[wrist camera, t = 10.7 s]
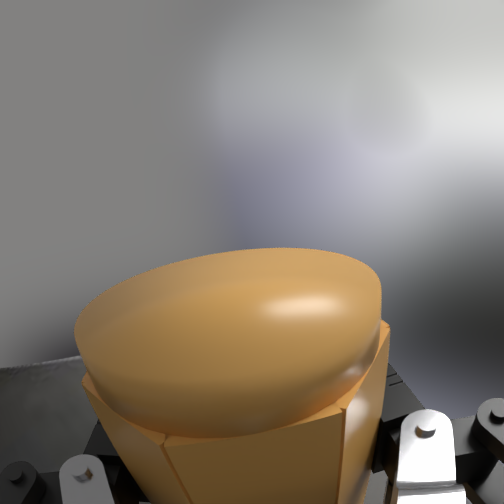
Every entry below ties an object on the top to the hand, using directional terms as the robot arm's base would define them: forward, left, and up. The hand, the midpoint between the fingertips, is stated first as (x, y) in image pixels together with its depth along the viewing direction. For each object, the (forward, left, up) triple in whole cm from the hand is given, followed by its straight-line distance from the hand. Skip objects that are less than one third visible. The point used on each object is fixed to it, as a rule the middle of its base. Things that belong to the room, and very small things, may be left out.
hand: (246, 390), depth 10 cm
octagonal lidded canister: (+2, -2, -6) cm, 7 cm away
